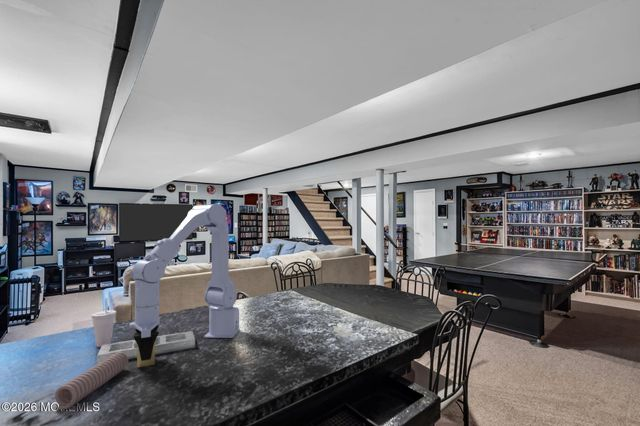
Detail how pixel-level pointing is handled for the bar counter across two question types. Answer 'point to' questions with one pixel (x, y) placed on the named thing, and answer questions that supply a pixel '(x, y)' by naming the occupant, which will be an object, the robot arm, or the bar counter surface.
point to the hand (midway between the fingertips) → (146, 356)
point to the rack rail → (164, 345)
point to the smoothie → (103, 325)
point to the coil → (90, 380)
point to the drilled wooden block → (145, 362)
